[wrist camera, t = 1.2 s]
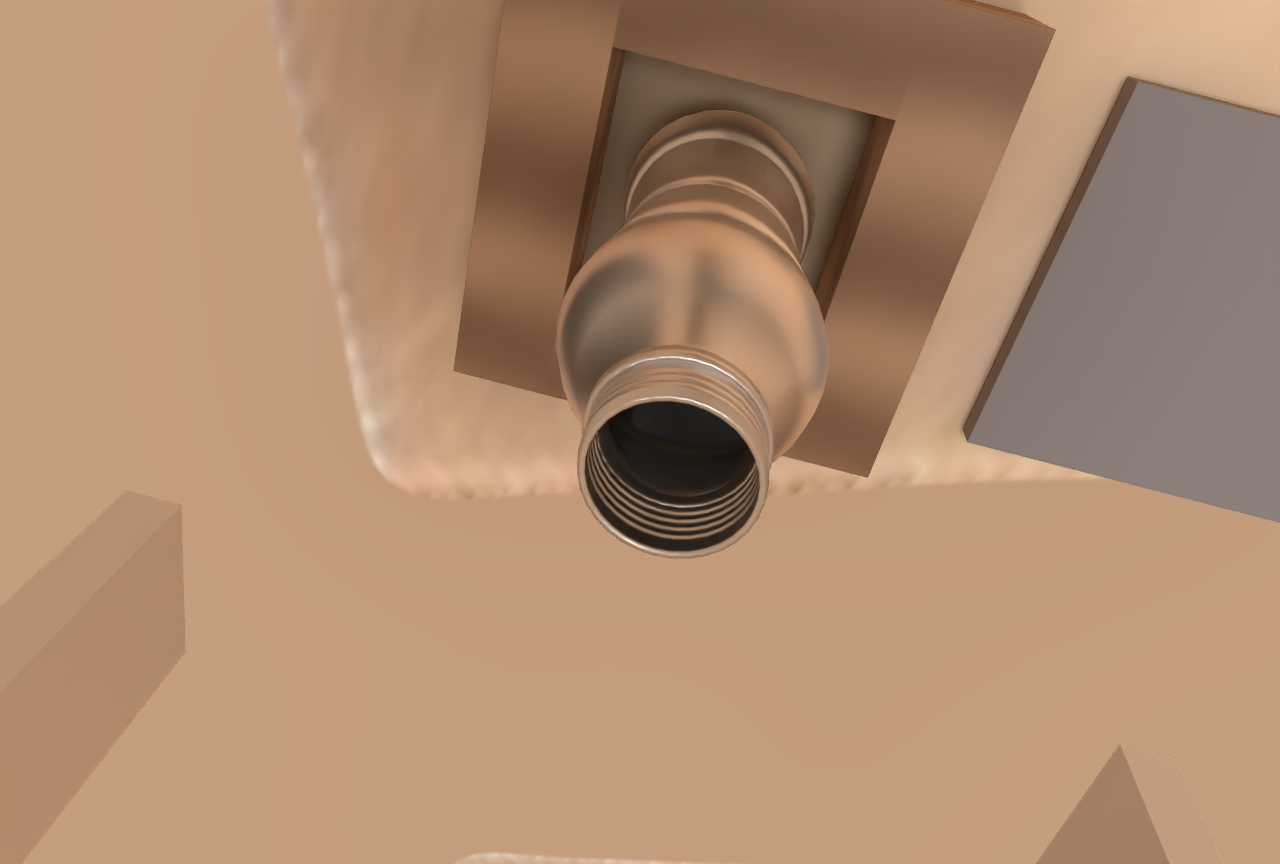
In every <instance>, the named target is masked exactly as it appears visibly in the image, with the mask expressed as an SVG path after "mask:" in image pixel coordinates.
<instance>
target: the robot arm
mask: <svg viewBox="0 0 1280 864" xmlns="http://www.w3.org/2000/svg"><path fill="white" fill-rule="evenodd" d="M182 548H183V547H182V513H181V504H177V503H173V502H169V501H165V500H161V499H157V498H153V497H149V496H145V495H141V494H137V493H133V492H130V491H125V492H124V493H123V494H122V495H121V496H120V497H119V498H118V499H116V500H115V501H114V502H113V503H112V504H111V505H110V506H109V507H108V508H107V509H106V510H104V511H103V513H101V514H100V515H99V516H98V517H97V518H96V519H95V520H94V521H93V522H92V523H90V525H88V526H87V527H86V528H85V529H84V530H83V531H82V532H81V533H80V534H78V536H76V537H75V538H74V539H73V540H72V541H71V542H70V543H69V544H68V545H67V546H65V548H63V549H62V550H61V551H60V552H59V553H58V554H57V555H56V556H55V557H54V558H53V559H51V560H50V561H49V562H48V563H47V564H46V565H45V566H44V567H43V568H42V569H41V570H39V571H38V572H37V573H36V574H35V575H34V576H33V577H32V578H31V579H30V580H29V581H28V582H26V583H25V584H24V585H23V586H22V587H21V588H20V589H19V590H18V591H17V592H16V593H15V594H13V595H12V596H11V597H10V598H9V599H8V600H7V601H6V602H5V603H4V604H3V605H2V606H0V864H22V863H23V862H24V860H25V859H26V858H27V856H28V855H29V854H30V853H31V851H32V850H33V849H34V847H35V846H36V845H37V844H38V842H39V841H40V840H41V838H42V837H43V836H44V834H45V833H46V832H47V831H48V829H49V828H50V827H51V825H52V824H53V823H54V822H55V820H56V819H57V817H58V816H59V815H60V814H61V812H62V811H63V810H64V809H65V807H66V806H67V805H68V803H69V802H70V801H71V799H72V798H73V797H74V796H75V794H76V793H77V792H78V791H79V789H80V788H81V787H82V785H83V784H84V783H85V781H86V780H87V779H88V777H89V776H90V775H91V774H92V772H93V771H94V770H95V769H96V767H97V766H98V765H99V763H100V762H101V761H102V759H103V758H104V757H105V755H106V754H107V753H108V752H109V750H110V749H111V748H112V747H113V745H114V744H115V743H116V741H117V740H118V739H119V737H120V736H121V735H122V733H123V732H124V731H125V730H126V728H127V727H128V726H129V725H130V723H131V722H132V721H133V719H134V718H135V717H136V715H137V714H138V713H139V712H140V710H141V709H142V708H143V706H144V705H145V704H146V702H147V701H148V700H149V699H150V697H151V696H152V695H153V693H154V692H155V691H156V690H157V688H158V687H159V686H160V684H161V683H162V682H163V681H164V679H165V678H166V676H167V675H168V674H169V673H170V671H171V670H172V669H173V668H174V666H175V665H176V664H177V662H178V661H179V660H180V659H181V657H182V656H183V655H184V653H185V620H184V583H183V549H182ZM1036 864H1224V863H1223V860H1222V858H1221V856H1220V854H1219V852H1218V850H1217V848H1216V846H1215V843H1214V841H1213V839H1212V837H1211V835H1210V833H1209V831H1208V829H1207V826H1206V824H1205V822H1204V820H1203V818H1202V816H1201V814H1200V812H1199V809H1198V807H1197V805H1196V803H1195V801H1194V799H1193V797H1192V795H1191V792H1190V790H1189V788H1188V786H1187V784H1186V782H1185V780H1184V778H1183V776H1182V773H1181V771H1180V769H1179V767H1178V765H1177V763H1176V761H1175V758H1173V757H1169V756H1166V755H1161V754H1158V753H1154V752H1150V751H1146V750H1142V749H1138V748H1134V747H1130V746H1126V745H1122V744H1120V745H1119V746H1118V747H1117V749H1116V750H1115V752H1114V753H1113V754H1112V756H1111V757H1110V759H1109V760H1108V762H1107V763H1106V764H1105V766H1104V767H1103V769H1102V770H1101V772H1100V773H1099V774H1098V776H1097V777H1096V779H1095V780H1094V782H1093V783H1092V784H1091V786H1090V787H1089V789H1088V790H1087V791H1086V793H1085V794H1084V796H1083V797H1082V799H1081V800H1080V802H1079V803H1078V804H1077V806H1076V807H1075V809H1074V810H1073V812H1072V813H1071V814H1070V816H1069V817H1068V819H1067V820H1066V821H1065V823H1064V824H1063V826H1062V827H1061V829H1060V830H1059V831H1058V833H1057V834H1056V836H1055V837H1054V839H1053V840H1052V842H1051V843H1050V844H1049V846H1048V847H1047V849H1046V850H1045V851H1044V853H1043V854H1042V856H1041V857H1040V859H1039V860H1038V861H1037V863H1036Z"/></svg>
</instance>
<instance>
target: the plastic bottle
mask: <svg viewBox="0 0 1280 864" xmlns="http://www.w3.org/2000/svg"><path fill="white" fill-rule="evenodd" d="M814 217H815V206H814V193H813V189H812V185H811V180H810V177H809V175H808V172H807V170H806V168H805V166H804V163H803V161H802V159H801V158H800V157H799V155H798V154H797V152H796V151H795V150H794V148H793V147H792V145H791V144H790V143H789V142H788V141H787V140H786V139H785V138H784V137H782V136H781V135H780V134H779V133H778V132H777V131H776V130H775V129H774V128H772V127H771V126H769V125H767V124H766V123H764V122H763V121H761V120H759V119H758V118H755V117H753V116H750V115H747V114H744V113H742V112H737V111H730V110H723V109H722V110H705V111H702V112H698V113H694V114H691V115H687V116H683V117H681V118H679V119H677V120H675V121H673V122H672V123H670V124H668V125H666V126H665V127H663V128H662V129H661V130H660V131H658V132H657V133H656V134H655V135H654V136H652V137H651V138H650V140H649V141H648V142H647V143H646V145H645V146H644V147H643V148H642V150H641V151H640V152H639V154H638V156H637V158H636V160H635V162H634V164H633V166H632V168H631V170H630V174H629V178H628V181H627V185H626V194H625V209H624V220H625V225H624V226H623V228H622V229H620V230H619V231H618V232H617V233H615V234H614V235H613V236H612V237H611V238H609V239H608V240H607V241H606V242H604V243H603V244H602V245H600V246H599V247H598V248H597V250H596V251H595V252H594V253H593V254H592V256H591V257H590V258H589V259H588V261H587V262H586V263H585V264H584V265H583V267H582V268H581V269H580V271H579V272H578V273H577V274H576V276H575V277H574V279H573V281H572V283H571V285H570V287H569V289H568V291H567V293H566V295H565V297H564V299H563V302H562V306H561V310H560V313H559V317H558V321H557V337H556V350H557V356H558V362H559V368H560V373H561V379H562V385H563V389H564V392H565V394H566V397H567V399H568V402H569V404H570V407H571V409H572V411H573V413H574V414H575V416H576V418H577V419H578V421H579V422H580V424H581V426H582V427H583V429H582V439H581V442H580V446H579V449H578V462H577V468H578V470H577V474H578V480H579V485H580V490H581V492H582V495H583V497H584V499H585V502H586V504H587V506H588V507H589V509H590V510H591V512H592V514H593V515H594V517H595V518H596V519H597V520H598V521H599V523H600V524H601V525H602V526H603V527H604V528H605V529H606V530H607V531H609V532H610V533H611V534H612V535H614V536H615V537H616V538H618V539H619V540H620V541H622V542H624V543H625V544H628V545H629V546H631V547H633V548H635V549H637V550H640V551H643V552H646V553H649V554H652V555H655V556H662V557H667V558H695V557H702V556H707V555H710V554H713V553H716V552H719V551H721V550H724V549H725V548H727V547H729V546H730V545H732V544H734V543H736V542H737V541H738V540H739V539H741V538H742V537H743V536H744V535H745V534H746V533H747V532H749V530H750V529H751V528H752V526H753V525H754V523H755V522H756V521H757V519H758V518H759V515H760V513H761V511H762V508H763V506H764V503H765V500H766V497H767V491H768V486H769V470H770V468H771V463H773V462H775V461H776V460H777V459H778V458H779V457H780V456H782V455H783V454H784V453H785V452H786V451H787V450H788V449H789V448H790V447H791V446H793V444H794V443H795V441H796V440H797V439H798V437H799V436H800V434H801V433H802V432H803V430H804V429H805V427H806V426H807V424H808V423H809V421H810V420H811V418H812V416H813V415H814V413H815V411H816V408H817V406H818V404H819V402H820V399H821V397H822V395H823V392H824V389H825V384H826V379H827V374H828V369H829V346H828V337H827V333H826V329H825V325H824V321H823V316H822V313H821V310H820V306H819V302H818V300H817V298H816V296H815V294H814V292H813V290H812V287H811V285H810V283H809V281H808V279H807V278H806V276H805V274H804V272H803V270H802V268H801V266H800V263H801V261H802V259H803V256H804V254H805V251H806V249H807V246H808V243H809V240H810V237H811V234H812V228H813V223H814Z"/></svg>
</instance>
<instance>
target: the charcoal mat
mask: <svg viewBox="0 0 1280 864" xmlns="http://www.w3.org/2000/svg"><path fill="white" fill-rule="evenodd" d="M963 431H964V434H965V437H966V440H967V442H969V443H973V444H977V445H981V446H985V447H989V448H992V449H996V450H1000V451H1004V452H1008V453H1012V454H1016V455H1020V456H1023V457H1027V458H1031V459H1035V460H1039V461H1043V462H1047V463H1051V464H1054V465H1058V466H1062V467H1066V468H1070V469H1074V470H1078V471H1082V472H1085V473H1089V474H1093V475H1097V476H1101V477H1105V478H1109V479H1113V480H1116V481H1120V482H1124V483H1128V484H1132V485H1136V486H1140V487H1144V488H1147V489H1152V490H1155V491H1159V492H1164V493H1167V494H1171V495H1175V496H1178V497H1183V498H1187V499H1190V500H1194V501H1198V502H1202V503H1206V504H1209V505H1214V506H1217V507H1221V508H1225V509H1229V510H1233V511H1237V512H1240V513H1244V514H1249V515H1252V516H1256V517H1260V518H1264V519H1268V520H1272V521H1275V522H1280V116H1277V115H1274V114H1270V113H1266V112H1262V111H1258V110H1254V109H1251V108H1247V107H1243V106H1239V105H1235V104H1231V103H1228V102H1224V101H1220V100H1216V99H1212V98H1209V97H1205V96H1201V95H1197V94H1193V93H1189V92H1186V91H1182V90H1178V89H1174V88H1170V87H1166V86H1163V85H1159V84H1155V83H1151V82H1147V81H1143V80H1140V79H1136V78H1132V77H1128V78H1127V80H1126V82H1125V84H1124V87H1123V89H1122V91H1121V93H1120V95H1119V97H1118V99H1117V102H1116V104H1115V106H1114V108H1113V110H1112V112H1111V114H1110V117H1109V119H1108V121H1107V123H1106V125H1105V127H1104V129H1103V131H1102V134H1101V136H1100V138H1099V140H1098V142H1097V144H1096V146H1095V149H1094V151H1093V153H1092V155H1091V157H1090V159H1089V161H1088V164H1087V166H1086V168H1085V170H1084V172H1083V174H1082V176H1081V179H1080V181H1079V183H1078V185H1077V187H1076V189H1075V191H1074V193H1073V196H1072V198H1071V200H1070V202H1069V204H1068V206H1067V208H1066V211H1065V213H1064V215H1063V217H1062V219H1061V221H1060V223H1059V226H1058V228H1057V230H1056V232H1055V234H1054V236H1053V238H1052V240H1051V243H1050V245H1049V247H1048V249H1047V251H1046V253H1045V255H1044V258H1043V260H1042V262H1041V264H1040V266H1039V268H1038V270H1037V273H1036V275H1035V277H1034V279H1033V281H1032V283H1031V285H1030V288H1029V290H1028V292H1027V294H1026V296H1025V298H1024V300H1023V302H1022V305H1021V307H1020V309H1019V311H1018V313H1017V315H1016V317H1015V320H1014V322H1013V324H1012V326H1011V328H1010V330H1009V332H1008V335H1007V337H1006V339H1005V341H1004V343H1003V345H1002V347H1001V350H1000V352H999V354H998V356H997V358H996V360H995V362H994V364H993V367H992V369H991V371H990V373H989V375H988V377H987V379H986V382H985V384H984V386H983V388H982V390H981V392H980V394H979V397H978V399H977V401H976V403H975V405H974V407H973V409H972V411H971V414H970V416H969V418H968V420H967V422H966V424H965V426H964V429H963Z"/></svg>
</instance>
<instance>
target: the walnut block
mask: <svg viewBox="0 0 1280 864" xmlns="http://www.w3.org/2000/svg"><path fill="white" fill-rule="evenodd" d="M1055 31H1056V30H1055V29H1053V28H1051V27H1049V26H1047V25H1045V24H1043V23H1041V22H1039V21H1037V20H1035V19H1033V18H1031V17H1029V16H1027V15H1025V14H1022V13H1018V12H1014V11H1010V10H1007V9H1003V8H999V7H995V6H991V5H987V4H984V3H980V2H976V1H972V0H504V6H503V13H502V21H501V28H500V35H499V43H498V50H497V57H496V64H495V72H494V79H493V86H492V94H491V101H490V108H489V115H488V123H487V130H486V137H485V145H484V152H483V159H482V167H481V174H480V181H479V188H478V196H477V203H476V210H475V218H474V225H473V232H472V240H471V247H470V254H469V261H468V269H467V276H466V283H465V291H464V298H463V305H462V313H461V320H460V327H459V334H458V342H457V349H456V356H455V364H454V371H455V372H459V373H463V374H467V375H471V376H475V377H479V378H483V379H487V380H490V381H494V382H498V383H502V384H506V385H510V386H514V387H518V388H521V389H525V390H529V391H533V392H537V393H541V394H545V395H549V396H552V397H556V398H560V399H564V400H568V399H567V397H566V394H565V392H564V389H563V385H562V379H561V373H560V368H559V362H558V356H557V350H556V337H557V321H558V317H559V313H560V310H561V306H562V302H563V299H564V297H565V295H566V293H567V291H568V289H569V287H570V285H571V283H572V281H573V279H574V277H575V276H576V274H577V273H578V272H579V271H580V269H581V266H582V261H583V256H584V251H585V246H586V242H587V237H588V232H589V227H590V222H591V217H592V212H593V207H594V202H595V197H596V192H597V187H598V182H599V177H600V173H601V168H602V163H603V158H604V153H605V148H606V143H607V138H608V133H609V128H610V123H611V118H612V113H613V108H614V104H615V99H616V94H617V89H618V84H619V79H620V74H621V69H622V64H623V59H624V54H625V50H627V51H631V52H635V53H639V54H642V55H646V56H650V57H654V58H658V59H662V60H665V61H669V62H673V63H677V64H681V65H685V66H689V67H692V68H696V69H700V70H704V71H708V72H712V73H715V74H719V75H723V76H727V77H731V78H735V79H738V80H742V81H746V82H750V83H754V84H758V85H762V86H765V87H769V88H773V89H777V90H781V91H785V92H788V93H792V94H796V95H800V96H804V97H808V98H811V99H815V100H819V101H823V102H827V103H831V104H834V105H838V106H842V107H846V108H850V109H854V110H858V111H861V112H865V113H869V114H873V115H876V118H875V121H874V123H873V126H872V129H871V132H870V135H869V138H868V141H867V144H866V147H865V150H864V153H863V155H862V158H861V161H860V164H859V167H858V170H857V173H856V176H855V179H854V182H853V185H852V187H851V190H850V193H849V196H848V199H847V202H846V205H845V208H844V211H843V214H842V217H841V220H840V222H839V225H838V228H837V231H836V234H835V237H834V240H833V243H832V246H831V249H830V252H829V254H828V257H827V260H826V263H825V266H824V269H823V272H822V275H821V278H820V281H819V284H818V286H817V289H816V292H815V296H816V298H817V300H818V302H819V306H820V310H821V313H822V316H823V321H824V325H825V329H826V333H827V337H828V346H829V369H828V374H827V379H826V384H825V389H824V392H823V395H822V397H821V399H820V402H819V404H818V406H817V408H816V411H815V413H814V415H813V416H812V418H811V420H810V421H809V423H808V424H807V426H806V427H805V429H804V430H803V432H802V433H801V434H800V436H799V437H798V439H797V440H796V441H795V443H794V444H793V446H791V447H790V448H789V449H788V450H787V451H786V452H785V453H784V454H783V455H782V456H785V457H789V458H793V459H797V460H801V461H805V462H809V463H813V464H816V465H820V466H824V467H828V468H832V469H836V470H840V471H844V472H848V473H851V474H855V475H859V476H863V477H867V478H868V476H869V474H870V471H871V469H872V466H873V464H874V462H875V459H876V457H877V455H878V452H879V450H880V447H881V445H882V443H883V440H884V438H885V435H886V433H887V431H888V428H889V426H890V424H891V421H892V419H893V416H894V414H895V412H896V409H897V407H898V404H899V402H900V400H901V397H902V395H903V393H904V390H905V388H906V385H907V383H908V381H909V378H910V376H911V374H912V371H913V369H914V366H915V364H916V362H917V359H918V357H919V354H920V352H921V350H922V347H923V345H924V343H925V340H926V338H927V335H928V333H929V331H930V328H931V326H932V324H933V321H934V319H935V316H936V314H937V312H938V309H939V307H940V304H941V302H942V300H943V297H944V295H945V293H946V290H947V288H948V285H949V283H950V281H951V278H952V276H953V273H954V271H955V269H956V266H957V264H958V262H959V259H960V257H961V254H962V252H963V250H964V247H965V245H966V243H967V240H968V238H969V235H970V233H971V231H972V228H973V226H974V223H975V221H976V219H977V216H978V214H979V212H980V209H981V207H982V204H983V202H984V200H985V197H986V195H987V193H988V190H989V188H990V185H991V183H992V181H993V178H994V176H995V173H996V171H997V169H998V166H999V164H1000V162H1001V159H1002V157H1003V154H1004V152H1005V150H1006V147H1007V145H1008V142H1009V140H1010V138H1011V135H1012V133H1013V131H1014V128H1015V126H1016V123H1017V121H1018V119H1019V116H1020V114H1021V112H1022V109H1023V107H1024V104H1025V102H1026V100H1027V97H1028V95H1029V92H1030V90H1031V88H1032V85H1033V83H1034V81H1035V78H1036V76H1037V73H1038V71H1039V69H1040V66H1041V64H1042V62H1043V59H1044V57H1045V54H1046V52H1047V50H1048V47H1049V45H1050V42H1051V40H1052V38H1053V35H1054V33H1055Z"/></svg>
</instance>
